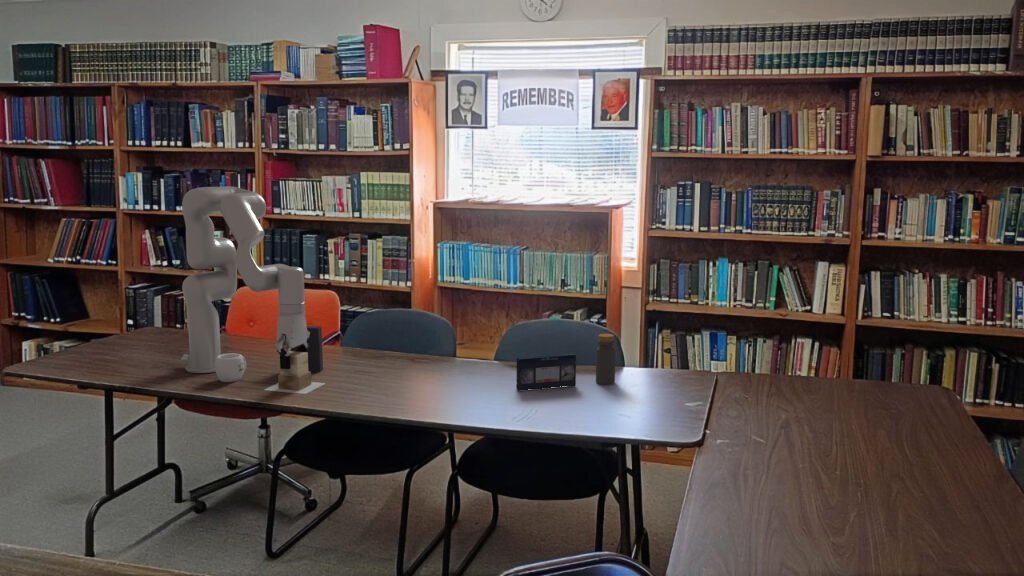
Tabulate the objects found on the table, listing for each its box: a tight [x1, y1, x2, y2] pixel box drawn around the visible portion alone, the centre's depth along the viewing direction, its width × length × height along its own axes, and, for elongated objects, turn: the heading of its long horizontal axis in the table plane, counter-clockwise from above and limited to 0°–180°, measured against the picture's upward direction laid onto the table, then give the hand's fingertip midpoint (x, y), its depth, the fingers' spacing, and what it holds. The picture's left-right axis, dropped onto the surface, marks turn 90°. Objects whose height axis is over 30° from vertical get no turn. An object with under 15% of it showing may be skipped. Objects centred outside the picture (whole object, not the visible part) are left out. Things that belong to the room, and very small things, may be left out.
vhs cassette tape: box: [515, 353, 577, 391], centre depth 258 cm, size 18×3×10 cm, turn 105°
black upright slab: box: [285, 325, 324, 373], centre depth 275 cm, size 11×4×15 cm, turn 84°
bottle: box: [595, 333, 616, 386], centre depth 264 cm, size 6×6×15 cm
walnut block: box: [277, 371, 312, 391], centre depth 257 cm, size 7×7×4 cm
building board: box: [263, 381, 326, 395], centre depth 257 cm, size 14×12×1 cm
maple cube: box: [278, 351, 308, 377], centre depth 256 cm, size 6×6×6 cm
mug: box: [215, 352, 247, 383], centre depth 267 cm, size 12×8×8 cm
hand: (294, 364), depth 256 cm, fingers open, 9 cm apart
